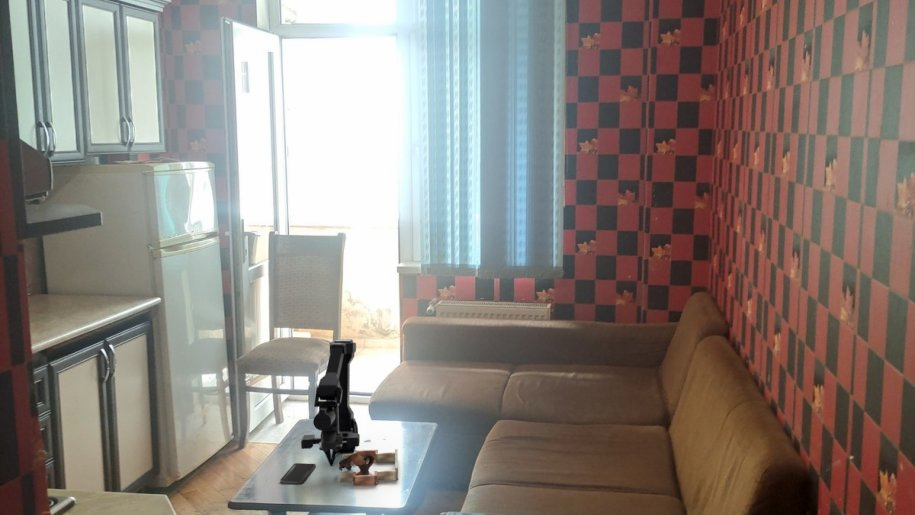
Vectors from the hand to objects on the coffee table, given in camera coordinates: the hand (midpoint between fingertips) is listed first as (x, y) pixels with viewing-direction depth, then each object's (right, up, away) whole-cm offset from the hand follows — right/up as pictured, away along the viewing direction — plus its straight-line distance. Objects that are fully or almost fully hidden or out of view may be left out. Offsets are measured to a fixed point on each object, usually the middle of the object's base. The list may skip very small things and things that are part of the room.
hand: (331, 465), depth 271 cm
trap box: (+13, -2, +1) cm, 13 cm away
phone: (-11, -3, 0) cm, 11 cm away
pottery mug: (+9, -3, -1) cm, 9 cm away
